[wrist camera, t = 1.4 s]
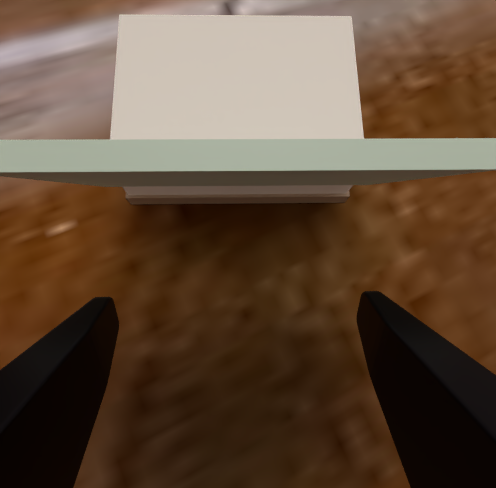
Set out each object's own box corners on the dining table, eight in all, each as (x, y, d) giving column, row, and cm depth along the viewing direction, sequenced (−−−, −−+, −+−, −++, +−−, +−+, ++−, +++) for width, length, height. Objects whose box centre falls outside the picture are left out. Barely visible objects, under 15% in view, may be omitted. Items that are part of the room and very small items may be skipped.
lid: (367, 169, 19) (367, 184, 19) (105, 171, 19) (106, 186, 19) (506, 138, 9) (503, 169, 9) (-40, 139, 9) (-36, 172, 9)
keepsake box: (344, 202, 24) (370, 171, 20) (131, 204, 24) (103, 173, 19) (333, 70, 27) (354, 13, 22) (138, 70, 26) (116, 11, 21)
